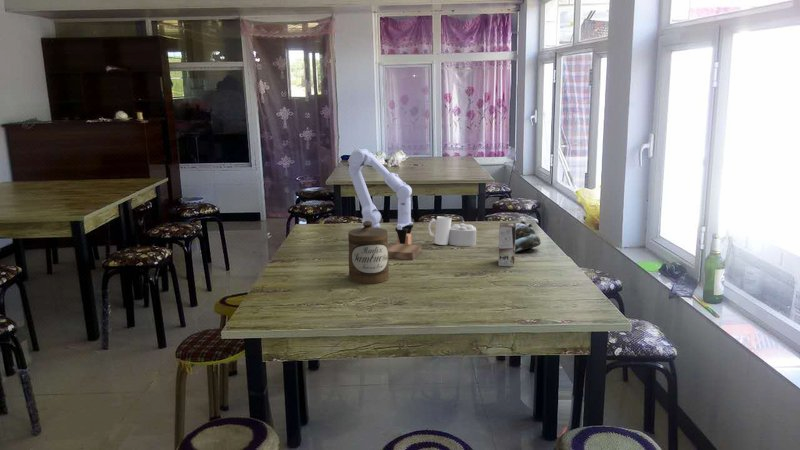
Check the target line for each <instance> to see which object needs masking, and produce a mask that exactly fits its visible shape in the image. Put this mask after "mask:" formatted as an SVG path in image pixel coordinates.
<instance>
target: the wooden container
mask: <svg viewBox="0 0 800 450" xmlns="http://www.w3.org/2000/svg"><path fill="white" fill-rule="evenodd" d="M362 226H364V227H363V228H360V227H357V228H353V229H350V230H349V231H348V232H347V233H348V234H347V236H348V279H349V280H350V281H351V282H353V283H355V284H362V285H371V284H372V285H373V284H380V283H382V282H383V283H384V282H386V281H388V280H389V278H390V277H389V265H390V264H389V258H388V245H389V241H388V230H387V229H385V228H381V227H380V228H374V227H372V222H370V221H365V222H364V223H363V222H362Z"/></svg>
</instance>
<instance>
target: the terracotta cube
mask: <svg viewBox="0 0 800 450" xmlns="http://www.w3.org/2000/svg"><path fill="white" fill-rule="evenodd" d="M396 235H397V241H396V244H400V241H399V237H398V234H396ZM405 244H410V245H412V233H410V234H409V233H407V234H406V241H405Z"/></svg>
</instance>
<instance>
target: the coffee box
mask: <svg viewBox="0 0 800 450" xmlns="http://www.w3.org/2000/svg"><path fill="white" fill-rule="evenodd" d="M516 224H517V222H500V224H499V234H498V235H499V236H498V266H499V267H514V266H515V256H516V253H515V240H516V239H515V238H516Z"/></svg>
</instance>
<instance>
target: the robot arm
mask: <svg viewBox="0 0 800 450" xmlns="http://www.w3.org/2000/svg"><path fill="white" fill-rule="evenodd" d="M364 166H370V167H372V168H373V169H374V170H376V171H377V173H378V174H379V175H381V176H382V177H383V178H384V183H385V184H386V185H387V186H388V187H389V188H390V189H391V190H392V191H393V192H395V195H396V197H397V225H396V227H395V229H394V230H395V232H396V235H398V237H399V241H400V244H405V241H406V234H407V233H409V234H412V233H411V232H412V230H413V227H414V222H413V221H412V215H411V214H412V201H411V200H412V199H411V195H412V193H413V189H412V187H411V186H410V185H409V184H407V183H406V181H403V180H402V179H401V178H400V176H399V174H398V173H395V172H390V171H389V170H388V169H387V168H386V167H385V166H384V165H383V163H381V161H380V160H379V159H378V158H377V156H375V155H374V153H372V152H371V151H370V150H369V149H368V148H365V147H362V148H359V149H355V150H353V151H352V153H351V154H350V156H349V164H348V174H349V177H350V179H351V181H352V185H353V187H354V190H355V193H356V194H357V197H358V201H359V203H360V206H361V215H362V224H363V223H364V222H365V221H370V222H372V227H374V228H381V224H380V221H382V214H381V212H380V211H379V210H378V208H377V207H376V205H375V204H374V202H373V200H372V198H371V195H370V192H369V190H368V187H367V186H368V185H366V181H365V178H364V177H363V176H364V175H363V173H362V169H363V167H364ZM363 227H364V226H363V225H360V226H359V228H363Z"/></svg>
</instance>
